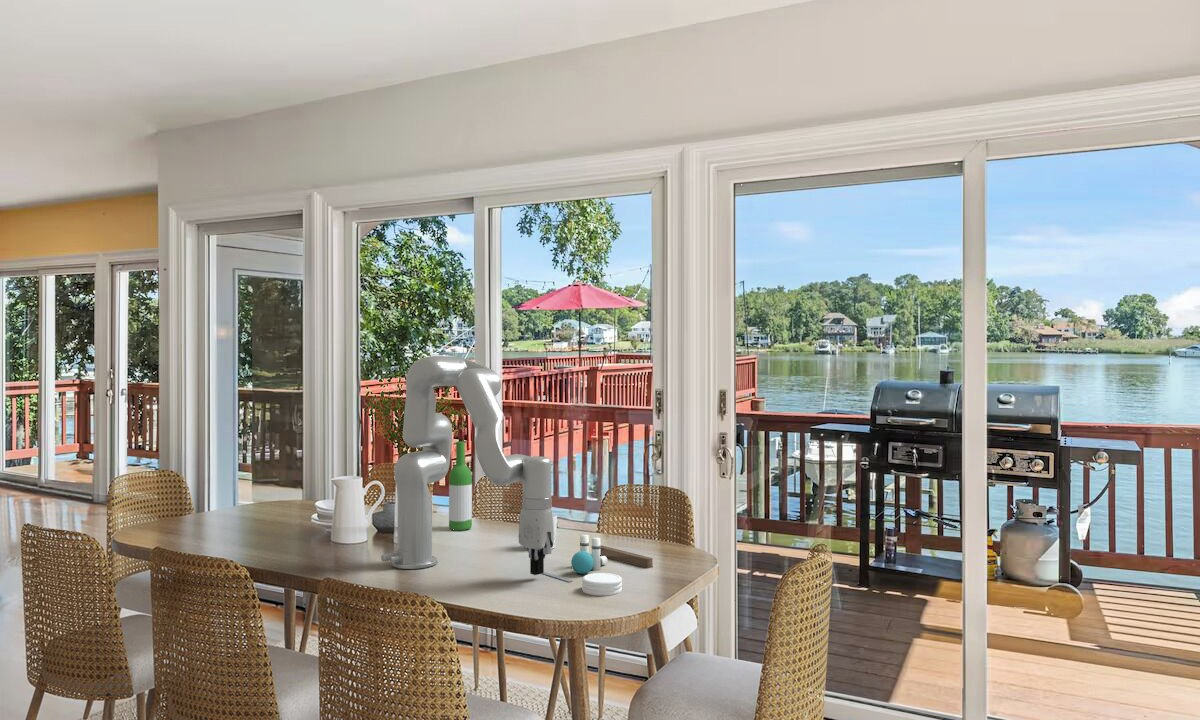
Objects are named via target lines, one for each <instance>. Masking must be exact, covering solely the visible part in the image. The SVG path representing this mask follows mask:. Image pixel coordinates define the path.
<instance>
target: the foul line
mask: <svg viewBox="0 0 1200 720" xmlns="http://www.w3.org/2000/svg"><path fill="white" fill-rule="evenodd" d="M542 575H545V576H548V577H550V578H554V579H557V580H560V581H563V582H567V583H572V582H574V580H571V579H568V578H565V577H562V576H559V575H555V574H552V573H549V572H546V571H544V573H543V574H542Z"/></svg>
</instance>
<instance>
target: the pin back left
mask: <svg viewBox="0 0 1200 720" xmlns="http://www.w3.org/2000/svg"><path fill="white" fill-rule="evenodd" d="M589 537H590V535H589V534H580V535H579V551H586V552H588V553H589V554H590V552H589V551H590V550H589V545H590V543H589V542H590V541H589V539H590V538H589Z"/></svg>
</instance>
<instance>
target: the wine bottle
mask: <svg viewBox="0 0 1200 720" xmlns="http://www.w3.org/2000/svg"><path fill="white" fill-rule="evenodd" d="M465 443H466V442H465V441H456V444H455V445H456V447H455V448H456V449H455V455H456V456H455V466H453V467H452V468H451V470H450V472H449V475H448V479H449V480H448V528H449V529H450V530H451V529H454V530H464V531H467V530H466V529H469V530H470V529H471V528H472V526H473V524H472V523H473V520H472V519H473V501H472V500H473V497H472V496H473V481H472V480H473V478H472V477H473V475H472V471H471V469H470V468H469V467H468V466H467V465H466V444H465ZM454 530H453V531H454Z"/></svg>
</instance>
